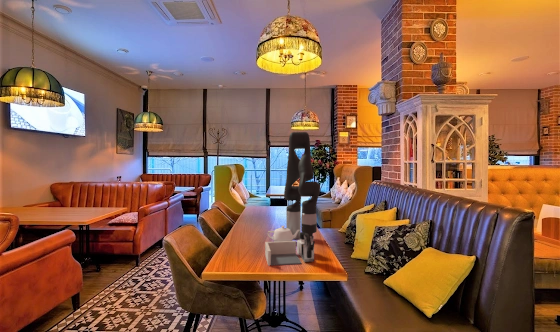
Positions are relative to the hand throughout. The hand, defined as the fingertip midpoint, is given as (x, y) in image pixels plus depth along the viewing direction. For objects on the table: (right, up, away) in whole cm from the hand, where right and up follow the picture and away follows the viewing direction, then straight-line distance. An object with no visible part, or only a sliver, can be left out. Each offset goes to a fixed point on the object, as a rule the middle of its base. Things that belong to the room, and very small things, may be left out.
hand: (308, 257), depth 144 cm
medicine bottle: (-1, -3, +12) cm, 12 cm away
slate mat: (-12, -3, +4) cm, 13 cm away
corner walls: (-12, -3, +4) cm, 13 cm away
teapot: (-12, -2, +35) cm, 37 cm away
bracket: (0, -2, +3) cm, 4 cm away
